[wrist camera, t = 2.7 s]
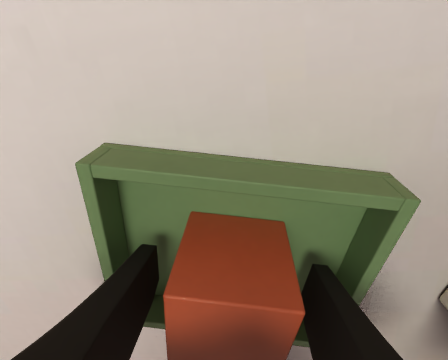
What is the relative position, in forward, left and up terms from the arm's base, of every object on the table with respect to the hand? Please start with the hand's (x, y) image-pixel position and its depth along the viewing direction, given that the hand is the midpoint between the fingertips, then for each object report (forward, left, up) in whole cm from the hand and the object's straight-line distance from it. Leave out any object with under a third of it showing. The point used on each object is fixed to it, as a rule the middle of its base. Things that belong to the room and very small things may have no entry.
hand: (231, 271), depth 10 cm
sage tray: (0, 0, -2) cm, 2 cm away
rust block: (0, 0, -1) cm, 1 cm away
